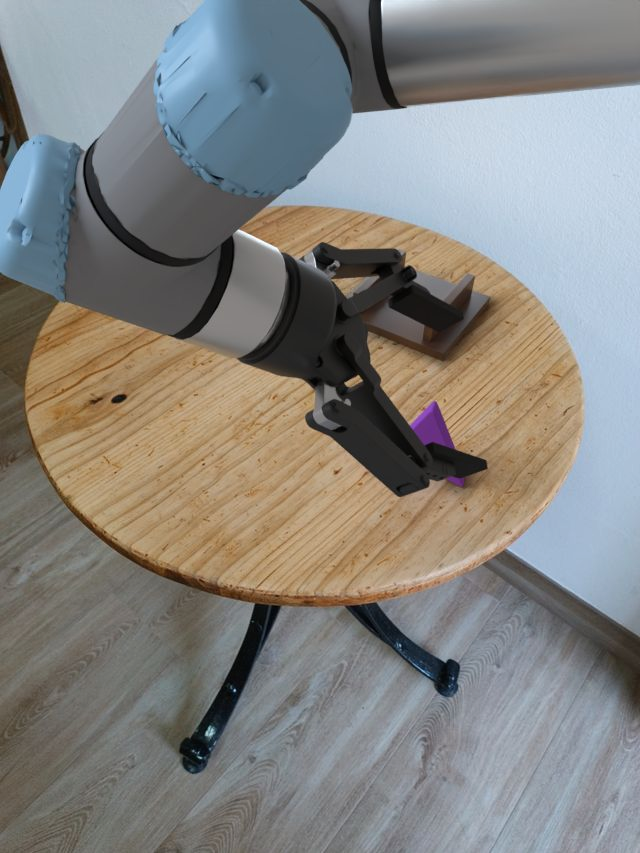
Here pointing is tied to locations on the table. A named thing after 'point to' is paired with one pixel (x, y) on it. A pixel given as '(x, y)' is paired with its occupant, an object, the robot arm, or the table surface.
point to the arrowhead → (434, 431)
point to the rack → (416, 333)
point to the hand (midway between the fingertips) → (461, 392)
